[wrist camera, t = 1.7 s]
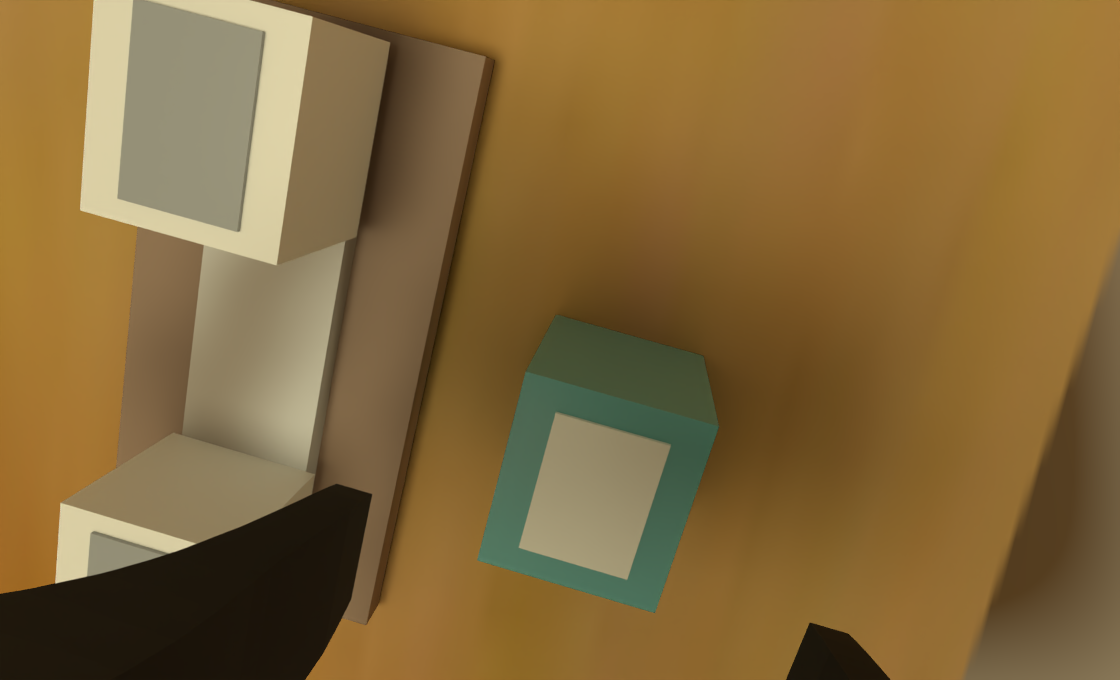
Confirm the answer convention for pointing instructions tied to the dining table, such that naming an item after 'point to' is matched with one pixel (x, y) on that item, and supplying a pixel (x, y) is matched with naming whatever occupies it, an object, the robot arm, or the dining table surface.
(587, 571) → the block
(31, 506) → the dining table surface
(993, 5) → the dining table surface
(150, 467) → the mounted module
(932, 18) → the dining table surface
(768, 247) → the dining table surface
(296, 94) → the block
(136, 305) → the mounting board
